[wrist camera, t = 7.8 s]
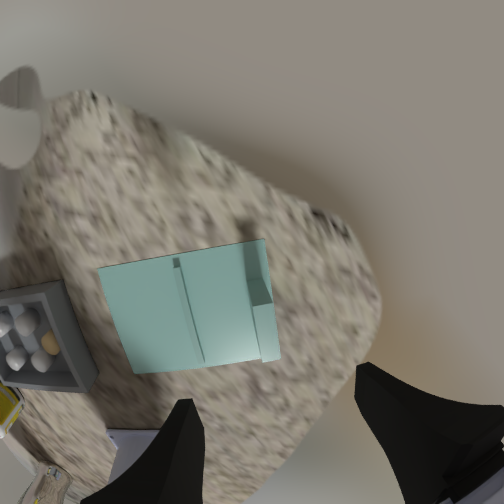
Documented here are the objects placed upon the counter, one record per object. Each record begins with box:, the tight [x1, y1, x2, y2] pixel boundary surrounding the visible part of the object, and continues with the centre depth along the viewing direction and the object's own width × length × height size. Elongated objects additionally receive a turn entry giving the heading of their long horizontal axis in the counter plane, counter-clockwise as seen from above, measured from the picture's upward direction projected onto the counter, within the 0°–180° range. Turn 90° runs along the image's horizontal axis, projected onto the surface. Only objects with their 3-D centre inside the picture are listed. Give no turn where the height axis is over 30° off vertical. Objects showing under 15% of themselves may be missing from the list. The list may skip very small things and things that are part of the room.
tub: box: [0, 280, 99, 393], centre depth 18 cm, size 9×12×3 cm
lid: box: [97, 239, 281, 374], centre depth 19 cm, size 10×13×5 cm
